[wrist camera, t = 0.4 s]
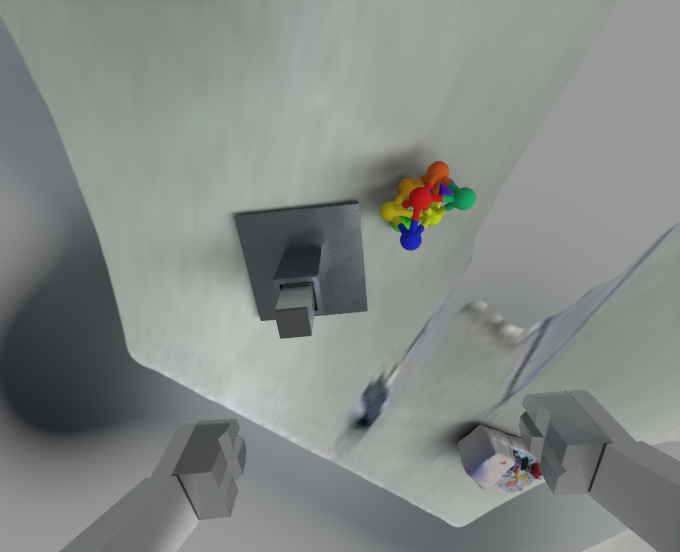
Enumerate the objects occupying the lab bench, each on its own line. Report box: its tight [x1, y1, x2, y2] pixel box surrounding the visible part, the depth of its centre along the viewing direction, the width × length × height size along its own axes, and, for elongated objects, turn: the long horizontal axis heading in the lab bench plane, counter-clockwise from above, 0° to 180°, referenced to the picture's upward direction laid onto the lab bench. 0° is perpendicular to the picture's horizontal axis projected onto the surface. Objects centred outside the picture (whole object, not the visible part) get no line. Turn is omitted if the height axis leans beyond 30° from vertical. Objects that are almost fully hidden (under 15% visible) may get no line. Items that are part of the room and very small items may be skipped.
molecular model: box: [380, 161, 476, 250], centre depth 47 cm, size 12×7×12 cm, turn 130°
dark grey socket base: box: [235, 202, 367, 321], centre depth 51 cm, size 20×20×12 cm
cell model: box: [458, 425, 542, 493], centre depth 73 cm, size 13×11×20 cm
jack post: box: [274, 281, 316, 339], centre depth 48 cm, size 4×4×17 cm
